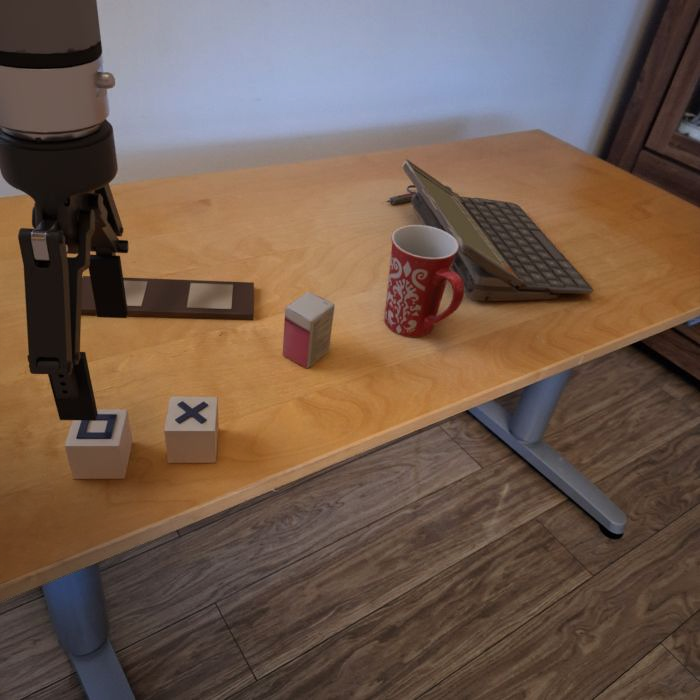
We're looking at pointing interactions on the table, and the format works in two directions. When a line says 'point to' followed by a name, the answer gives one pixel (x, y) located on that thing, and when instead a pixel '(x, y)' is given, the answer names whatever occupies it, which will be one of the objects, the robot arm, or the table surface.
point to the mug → (420, 279)
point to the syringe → (405, 196)
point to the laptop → (494, 244)
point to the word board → (180, 298)
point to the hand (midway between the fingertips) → (97, 361)
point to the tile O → (100, 445)
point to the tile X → (192, 429)
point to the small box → (307, 329)
